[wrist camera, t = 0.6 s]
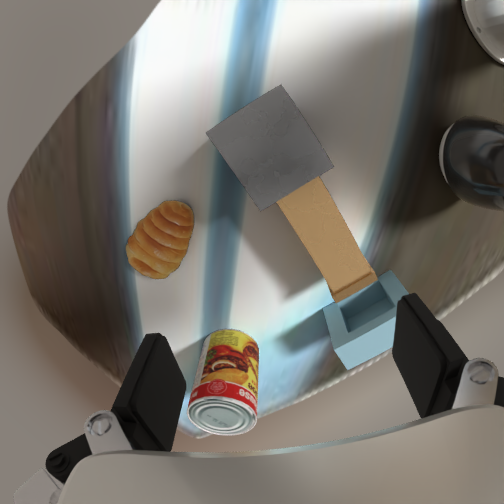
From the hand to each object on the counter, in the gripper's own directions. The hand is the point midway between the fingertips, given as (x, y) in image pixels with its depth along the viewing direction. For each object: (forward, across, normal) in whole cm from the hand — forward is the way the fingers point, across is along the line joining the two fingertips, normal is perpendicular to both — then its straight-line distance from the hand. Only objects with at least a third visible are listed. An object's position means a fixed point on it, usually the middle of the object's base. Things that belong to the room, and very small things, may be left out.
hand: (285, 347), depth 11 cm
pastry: (+24, +13, +2) cm, 27 cm away
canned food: (+23, +8, +20) cm, 32 cm away
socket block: (+23, -10, +14) cm, 29 cm away
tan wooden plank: (+22, -4, -1) cm, 22 cm away
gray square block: (+23, -1, -6) cm, 24 cm away
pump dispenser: (+23, -24, -3) cm, 33 cm away
